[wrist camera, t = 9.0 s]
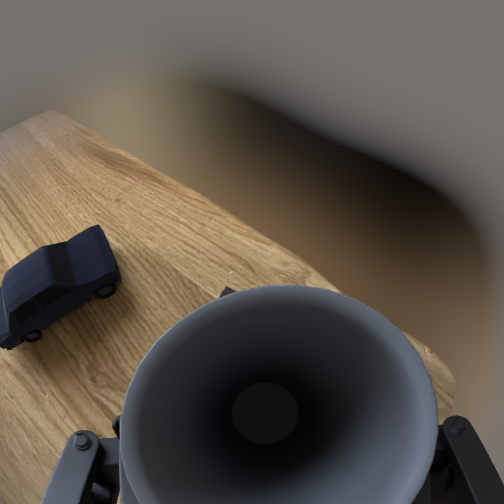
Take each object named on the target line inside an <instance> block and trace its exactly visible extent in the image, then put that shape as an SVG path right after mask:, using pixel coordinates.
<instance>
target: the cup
mask: <svg viewBox="0 0 504 504" xmlns="http://www.w3.org/2000/svg"><path fill="white" fill-rule="evenodd" d="M437 436H438V410H437V401H436V397H435V393H434V389H433V385H432V381H431V377H430V375H429V373H428V371H427V369H426V367H425V365H424V363H423V361H422V359H421V357H420V355H419V353H418V352H417V350H416V349H415V348H414V347H413V345H412V344H411V343H410V341H409V340H408V339H407V338H406V336H405V335H404V334H403V333H402V331H401V330H399V329H398V328H397V327H396V326H395V325H394V324H392V323H391V322H390V321H389V320H388V319H387V318H385V317H384V316H383V315H382V314H381V313H379V312H377V311H376V310H374V309H372V308H370V307H368V306H367V305H365V304H363V303H361V302H360V301H358V300H356V299H354V298H351V297H348V296H345V295H342V294H339V293H336V292H334V291H331V290H328V289H322V288H315V287H308V286H302V285H268V286H262V287H257V288H252V289H247V290H242V291H236V292H233V293H231V294H228V295H226V296H223V297H221V298H218V299H216V300H213V301H210V302H208V303H206V304H204V305H202V306H201V307H199V308H198V309H196V310H194V311H193V312H191V313H189V314H188V315H186V316H184V317H183V318H181V319H180V320H179V321H177V322H176V323H175V324H174V325H173V326H172V327H171V328H170V329H169V330H167V331H166V332H165V333H164V334H163V335H162V336H161V337H160V338H159V339H158V340H157V341H156V342H155V343H154V345H153V346H152V347H151V349H150V350H149V351H148V353H147V354H146V355H145V357H144V358H143V359H142V361H141V362H140V363H139V365H138V367H137V369H136V371H135V374H134V376H133V378H132V380H131V382H130V384H129V387H128V389H127V391H126V395H125V399H124V404H123V408H122V413H121V417H120V451H121V455H122V460H123V464H124V469H125V473H126V477H127V479H128V481H129V483H130V485H131V488H132V490H133V492H134V494H135V496H136V498H137V500H138V502H139V503H140V504H412V502H413V500H414V499H415V497H416V496H417V494H418V493H419V491H420V489H421V488H422V486H423V484H424V482H425V479H426V477H427V474H428V472H429V469H430V467H431V464H432V461H433V458H434V453H435V448H436V442H437Z"/></svg>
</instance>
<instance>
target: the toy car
mask: <svg viewBox="0 0 504 504" xmlns="http://www.w3.org/2000/svg"><path fill="white" fill-rule="evenodd" d="M119 277H120V280H119ZM114 283H115V284H117V285H119V284H120V283H122V280H121V275H120V272H119V269H118V266H117V263H116V260H115V258H114V255H113V253H112V250H111V248H110V245H109V242H108V240H107V238H106V236H105V234H104V232H103V230H102V229H101V227H100V226H99V224H98V225H95V226H92V227H90V228H88V229H86V230H84V231H82V232H81V233H79V234H77V235H76V236H74V237H73V238H71V239H70V240H68V241H66V242H61V243H56V244H51V245H47V246H42V247H41V248H39V249H37V250H36V251H34V252H33V253H31V254H30V255H29V256H27V257H26V258H24V259H23V260H21V261H20V262H18V263H17V264H16V265H14V266H13V267H12V268H11V269H9V270H8V271H7V272H6V274H5V275H4V278H3V281H2V286H1V288H0V347H1V348H7V350H13V348H14V347H16V346H18V345H19V344H21V343H23V342H24V341H26V342H35V341H38V340H39V339H40V338H41V337H42V333H41V330H43V329H45V328H46V327H48V326H49V325H51V324H52V323H54V322H56V321H57V320H59V319H60V318H62V317H64V316H65V315H67V314H69V313H70V312H72V311H73V310H75V309H77V308H78V307H80V306H81V305H83V304H84V303H86V302H88V301H90V300H91V299H92V294H93V293H94V295H95V297H96V298H98V299H105V298H108V297H110V296H111V295H113V294H114V293H115V291H116V286H115V284H114Z"/></svg>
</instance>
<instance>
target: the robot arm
mask: <svg viewBox="0 0 504 504" xmlns="http://www.w3.org/2000/svg"><path fill="white" fill-rule="evenodd" d="M120 417H121V415H119V416H117V417H116V419H115V420H114V421H113V424H112V427H113V429H114V431H115V433H116V435H117V437H116V438H103V439H99V438H98V437H97V436H96V435H95V434H94V433H93V432H91V431H88V430H81V431H77V432H75V433H73V434H72V435H71V436H70V437H69V438H68V440H67V442H66V444H65V447H64V449H63V451H62V453H61V455H60V458H59V460H58V462H57V464H56V467H55V469H54V471H53V474H52V476H51V479H50V481H49V483H48V486H47V488H46V491H45V493H44V496H43V498H42V501H41V504H116V503H117V499H118V495H119V491H120V499H121V504H140V503H139V502H138V500H137V498H136V496H135V494H134V492H133V490H132V488H131V485H130V483H129V481H128V479H127V477H126V473H125V469H124V464H123V460H122V455H121V451H120ZM412 504H504V485H503V483H502V481H501V479H500V476H499V474H498V473H497V471H496V469H495V467H494V465H493V463H492V461H491V459H490V457H489V455H488V453H487V451H486V450H485V448H484V446H483V444H482V442H481V440H480V439H479V437H478V435H477V433H476V432H475V430H474V428H473V427H472V425H471V423H470V422H469V421H468V420H467V419H466V418H464V417H462V416H451V417H449V418H447V419H446V420H445V421H444V423H443V425H438V436H437V442H436V448H435V453H434V458H433V461H432V464H431V467H430V469H429V472H428V474H427V477H426V479H425V482H424V484H423V486H422V488H421V489H420V491H419V493H418V494H417V496H416V497H415V499H414V500H413V502H412Z"/></svg>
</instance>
